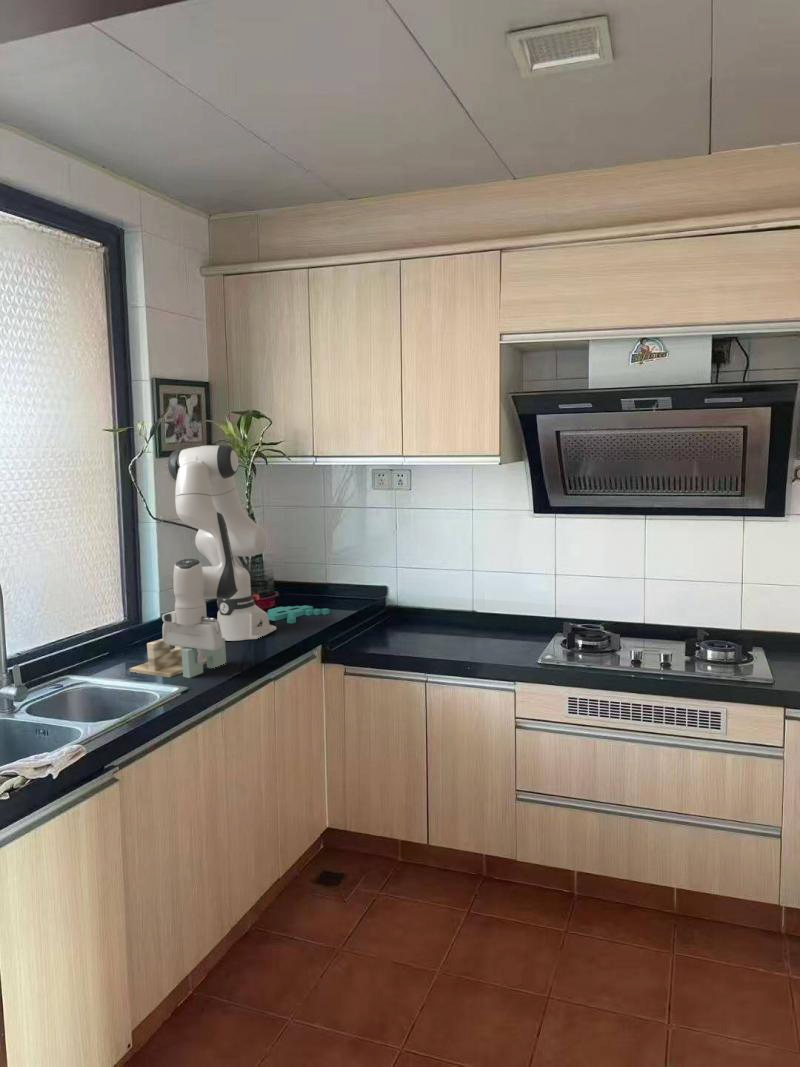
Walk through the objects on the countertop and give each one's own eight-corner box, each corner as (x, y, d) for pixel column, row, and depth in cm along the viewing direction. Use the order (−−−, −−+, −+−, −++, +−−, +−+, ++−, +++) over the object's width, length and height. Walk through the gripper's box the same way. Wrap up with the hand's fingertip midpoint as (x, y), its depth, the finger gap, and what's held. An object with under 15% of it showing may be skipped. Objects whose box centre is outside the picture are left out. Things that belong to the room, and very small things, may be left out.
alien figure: (329, 614, 324) (293, 609, 336) (329, 609, 323) (293, 603, 336) (291, 625, 308) (255, 618, 321) (291, 619, 308) (254, 613, 321)
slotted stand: (177, 655, 268) (175, 627, 267) (216, 660, 261) (214, 631, 260) (129, 671, 251) (127, 642, 250) (169, 677, 243) (167, 647, 242)
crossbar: (219, 662, 257) (218, 637, 256) (226, 663, 256) (224, 638, 255) (183, 676, 243) (181, 649, 242) (189, 677, 242) (187, 650, 241)
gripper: (226, 616, 242) (228, 663, 243) (172, 610, 251) (175, 656, 253) (211, 620, 236) (214, 668, 238) (157, 615, 246) (160, 661, 248)
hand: (194, 662), depth 245 cm, fingers closed on crossbar, 2 cm apart
